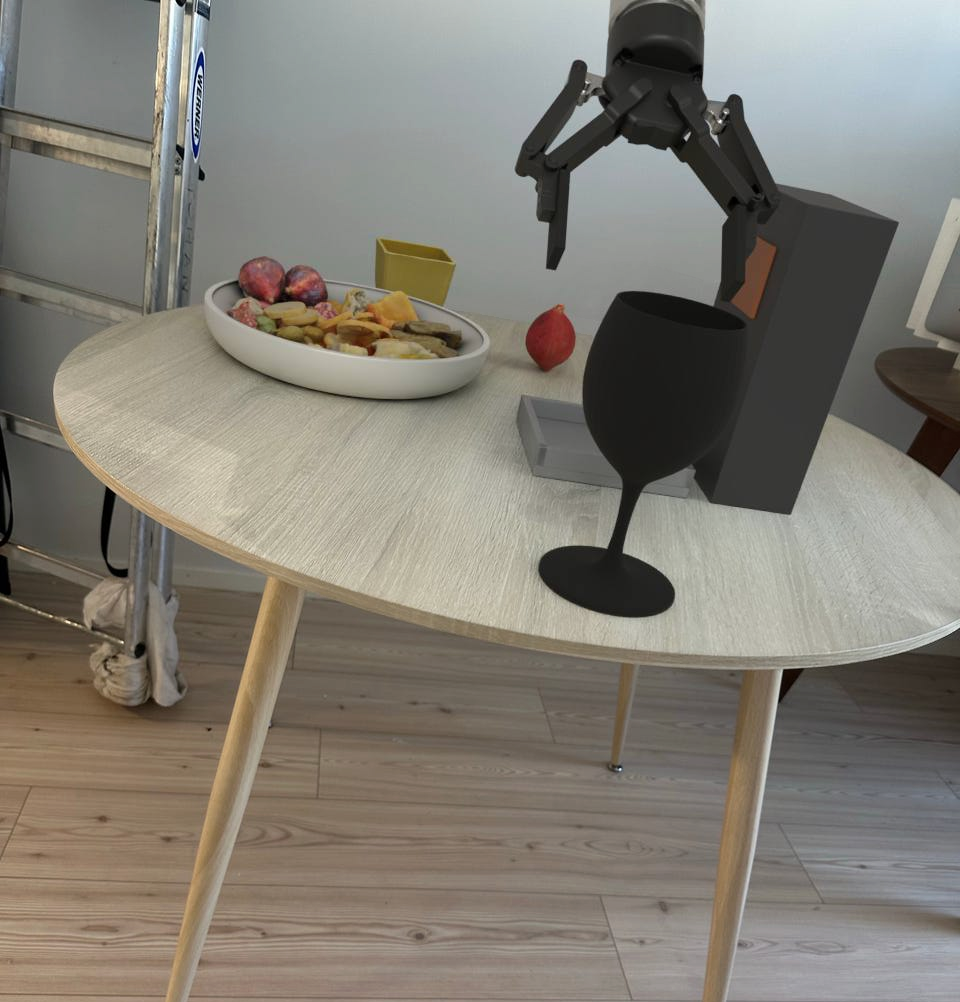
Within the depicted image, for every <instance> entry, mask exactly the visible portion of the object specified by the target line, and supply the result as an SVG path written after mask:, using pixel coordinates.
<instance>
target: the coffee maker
mask: <svg viewBox="0 0 960 1002" xmlns="http://www.w3.org/2000/svg"><path fill="white" fill-rule="evenodd" d="M775 184H776V186H777V188H778V190H779V192H780V194H781V196H782V202H781V203H780V205H779V206H778V208H777V209H776V210H775V212H774V213H773V215H772V216H771V217H770V219H769V220H768V221H767V223H766V224H762V225H761V224H758V223H757V233H756V234H757V245H756V247H755V249H754V251H753V252H752V253H751V255H750V256H749V257H748V259H747V260H746V264H745V283H744V285H743V286H742V287H741V289H740V290H739V291H738V292H737V294H736V295H735V296H734V298H733V299H732V300H731V302H724V301H720V298H721V281H720V282H719V285H718V289H717V292H716V296H715V300H714V303H713V306H714V307H716V308H719V309H722V310H725V311H727V312H729V313H732V314H734V315H736V316H738V317H740V318H741V319H743V320H744V321H745V322H746V323H747V325H748V348H747V362H746V371H745V377H744V383H743V388H742V392H741V396H740V399H739V402H738V405H737V408H736V411H735V413H734V415H733V418H732V420H731V422H730V424H729V425H728V427H727V429H726V431H725V432H724V434H723V435H722V436H721V438H720V439H719V440H718V442H717V443H716V444H715V445H714V446H713V448H712V449H711V450H710V451H709V452H707V453H706V454H705V455H704V456H703V457H702V458H700V459H699V460H698V461H696V462H695V463H693V464H691V465H690V466H688V467H687V468H685V469H683V470H681V471H679V472H677V473H675V474H673V475H670V476H668V477H665V478H662V479H660V480H657V481H654V482H651V483H649V484H647V485H646V486H645V487H644V488H643V490H642V492H641V493H647V494H648V493H649V494H655V495H661V496H668V497H676V498H681V499H688V497H689V493H690V490H691V487H692V484H693V480H695V481H696V483H697V485H698V486H699V488H700V489H701V490H702V492H703V493H704V495H705V496H706V498H707V499H708V502H709V503H710V504H717V505H725V506H731V507H737V508H743V509H750V510H757V511H758V510H759V511H764V512H771V513H777V514H778V513H779V514H785V515H792V513H793V510H794V507H795V505H796V502H797V499H798V497H799V495H800V491H801V489H802V487H803V483H804V480H805V478H806V475H807V472H808V470H809V467H810V465H811V461H812V459H813V457H814V453H815V451H816V448H817V445H818V443H819V440H820V437H821V435H822V432H823V430H824V426H825V424H826V421H827V419H828V416H829V413H830V411H831V408H832V405H833V402H834V400H835V397H836V394H837V391H838V388H839V386H840V383H841V381H842V378H843V375H844V373H845V370H846V368H847V364H848V362H849V359H850V357H851V354H852V352H853V348H854V345H855V344H856V340H857V338H858V335H859V332H860V330H861V327H862V324H863V322H864V319H865V316H866V313H867V311H868V308H869V305H870V303H871V300H872V298H873V294H874V291H875V289H876V285H877V283H878V281H879V278H880V275H881V273H882V270H883V268H884V265H885V261H886V259H887V257H888V254H889V251H890V249H891V246H892V243H893V241H894V237H895V235H896V232H897V229H898V227H899V224H900V222H899V221H897V220H895V219H893V218H890V217H888V216H885V215H882V214H880V213H878V212H875V211H873V210H870V209H868V208H865V207H863V206H861V205H858V204H856V203H853V202H851V201H848V200H846V199H844V198H841V197H838V196H836V195H833V194H831V193H825V192H821V191H817V190H810V189H806V188H801V187H797V186H791V185H786V184H782V183H778V182H775ZM515 421H516V425H517V429H518V432H519V435H520V438H521V441H522V444H523V447H524V448H523V449H524V451H525V454H526V458H527V460H528V465H529V467H530V471H531V474H532V476H534V477H541V478H548V479H553V480H554V479H555V480H560V481H561V480H562V481H566V482H567V481H568V482H574V483H580V484H587V485H594V486H602V487H609V488H615V489H621V490H622V479H621V477H620V475H619V474H618V473H617V471H616V470H615V469H614V468H613V467H612V466H611V464H610V463H609V462H608V461H607V459H606V458H605V457H604V455H603V454H602V453H601V451H600V450H599V448H598V447H597V445H596V443H595V441H594V439H593V437H592V435H591V433H590V431H589V429H588V426H587V423H586V420H585V415H584V411H583V403H578V402H577V403H576V402H571V401H565V400H557V399H553V398H545V397H539V396H533V395H527V394H521V395H520V399H519V405H518V409H517V414H516V419H515Z"/></svg>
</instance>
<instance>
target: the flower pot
mask: <svg viewBox="0 0 960 1002" xmlns="http://www.w3.org/2000/svg"><path fill="white" fill-rule="evenodd" d="M374 259H375V263H374V285H375V288H379V289H384V290H388V291H392V292H395V291H399V290H400V291H402V292H403V293H405V294H406V295H407V296H411V297H414V298H418V299H421V300H424V301H427V302H430V303H433V304H436V305H438V306H441V307H444V305H445V303H446V300H447V297H448V294H449V291H450V286H451V283H452V280H453V276H454V274H455V269H456V266H457V262H456V261H455V260H454V259H453V257H452V256H451V255H450V254H449V253H448V252H447V251H446V249H444V248H442V247H439V246H438V247H437V246H433V245H427V244H421V243H417V242H411V241H410V242H409V241H404V240H398V239H391V238H385V237H376V238H375V258H374Z"/></svg>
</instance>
